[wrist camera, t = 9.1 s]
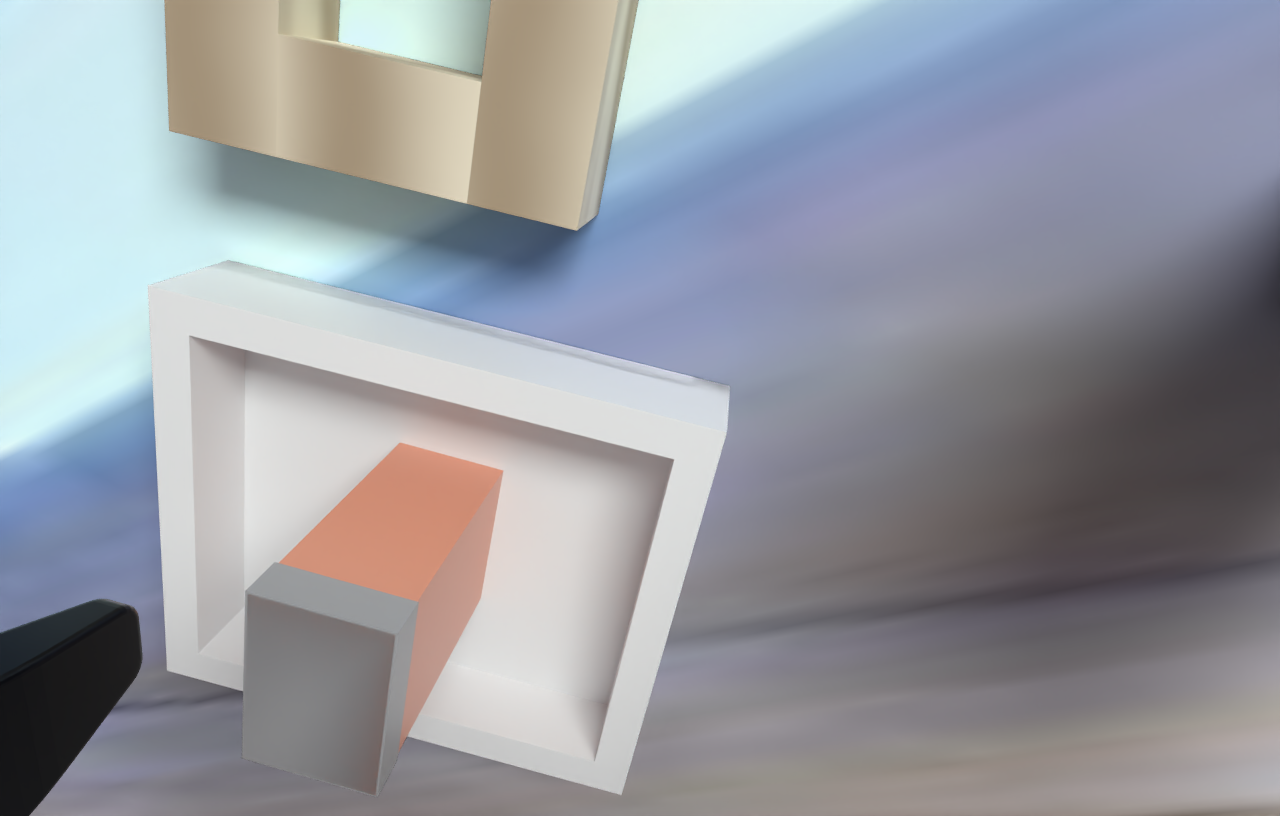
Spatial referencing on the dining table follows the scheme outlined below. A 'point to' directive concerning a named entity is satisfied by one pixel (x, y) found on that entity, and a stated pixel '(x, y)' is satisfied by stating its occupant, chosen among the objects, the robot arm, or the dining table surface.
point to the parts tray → (455, 426)
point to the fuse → (365, 618)
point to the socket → (412, 99)
